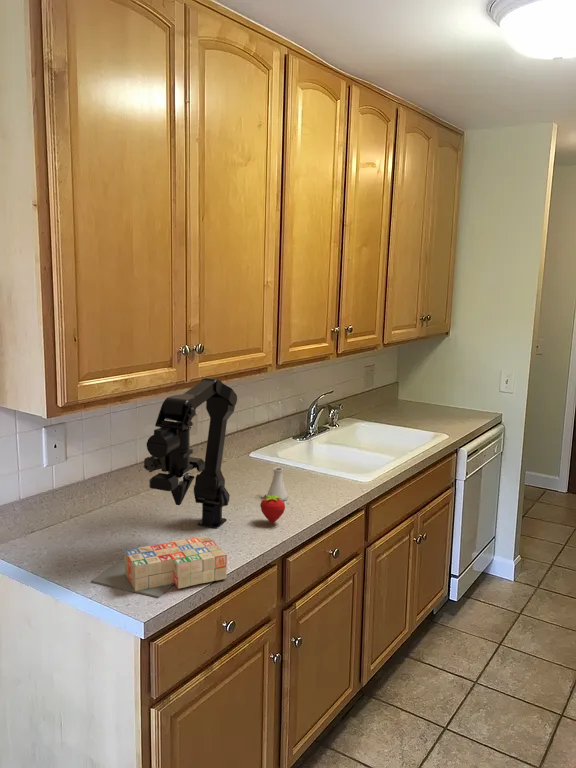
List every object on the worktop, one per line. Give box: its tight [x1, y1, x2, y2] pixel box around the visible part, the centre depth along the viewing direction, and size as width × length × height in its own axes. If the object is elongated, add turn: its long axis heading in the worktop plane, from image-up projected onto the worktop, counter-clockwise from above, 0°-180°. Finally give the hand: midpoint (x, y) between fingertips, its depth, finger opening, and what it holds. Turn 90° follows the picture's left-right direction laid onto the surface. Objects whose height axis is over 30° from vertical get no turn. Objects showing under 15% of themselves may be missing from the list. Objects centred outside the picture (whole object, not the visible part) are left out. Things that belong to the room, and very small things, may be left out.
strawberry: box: [259, 492, 286, 524], centre depth 187 cm, size 6×8×10 cm
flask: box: [265, 466, 289, 502], centre depth 208 cm, size 7×7×10 cm
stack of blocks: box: [124, 535, 228, 591], centre depth 153 cm, size 21×6×12 cm
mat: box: [90, 558, 175, 599], centre depth 153 cm, size 12×18×1 cm, turn 70°
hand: (178, 504), depth 166 cm, fingers closed
